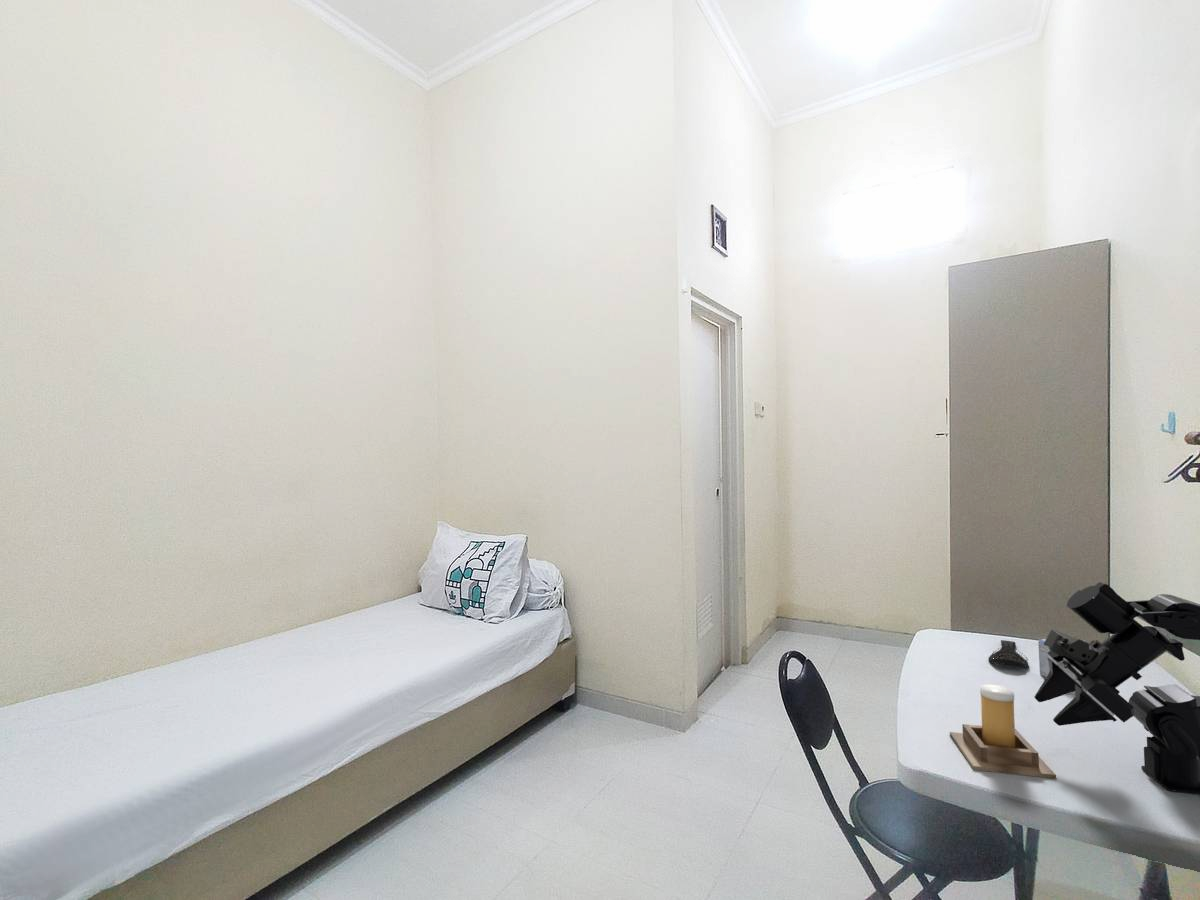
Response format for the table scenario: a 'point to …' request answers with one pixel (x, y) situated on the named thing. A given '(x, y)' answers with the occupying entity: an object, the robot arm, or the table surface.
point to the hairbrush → (1008, 655)
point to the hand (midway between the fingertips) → (1045, 710)
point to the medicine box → (1045, 659)
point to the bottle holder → (1000, 754)
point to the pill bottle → (997, 716)
